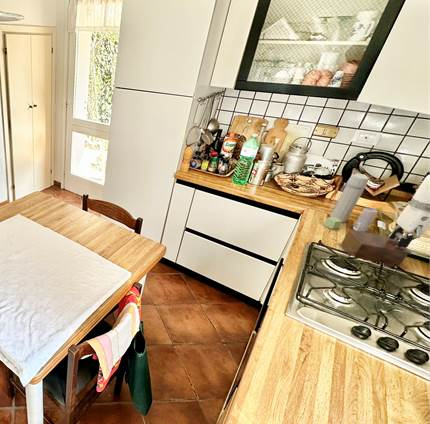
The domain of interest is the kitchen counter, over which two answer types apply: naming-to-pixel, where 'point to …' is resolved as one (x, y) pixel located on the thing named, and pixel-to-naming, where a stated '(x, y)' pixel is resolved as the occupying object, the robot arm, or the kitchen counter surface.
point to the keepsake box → (371, 252)
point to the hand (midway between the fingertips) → (397, 242)
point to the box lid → (379, 241)
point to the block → (332, 222)
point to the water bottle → (349, 197)
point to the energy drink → (365, 219)
